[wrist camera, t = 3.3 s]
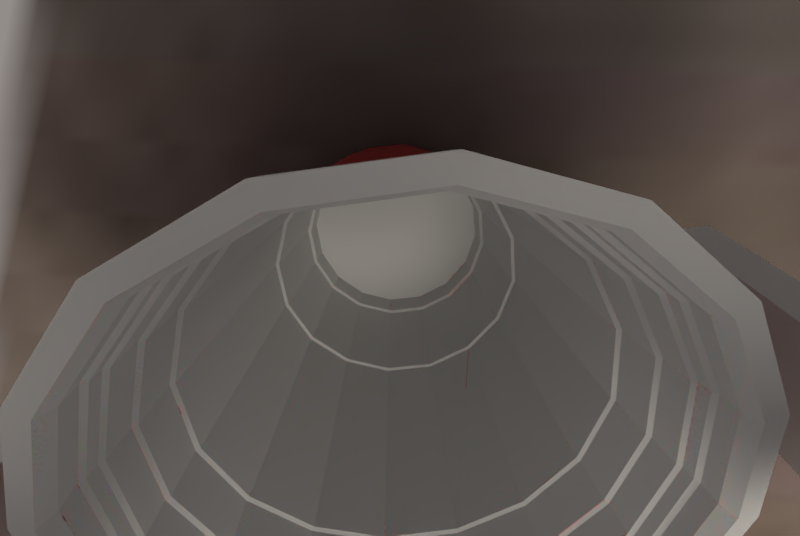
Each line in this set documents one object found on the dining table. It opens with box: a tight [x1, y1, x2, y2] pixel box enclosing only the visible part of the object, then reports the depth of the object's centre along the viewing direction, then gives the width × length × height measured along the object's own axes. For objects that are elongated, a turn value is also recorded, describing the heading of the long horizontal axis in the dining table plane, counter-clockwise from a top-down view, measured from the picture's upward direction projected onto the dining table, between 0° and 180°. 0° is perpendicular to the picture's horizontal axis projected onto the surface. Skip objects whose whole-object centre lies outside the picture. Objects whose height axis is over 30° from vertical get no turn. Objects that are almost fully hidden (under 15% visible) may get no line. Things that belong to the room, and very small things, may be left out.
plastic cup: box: [0, 144, 790, 536], centre depth 13 cm, size 11×11×12 cm
